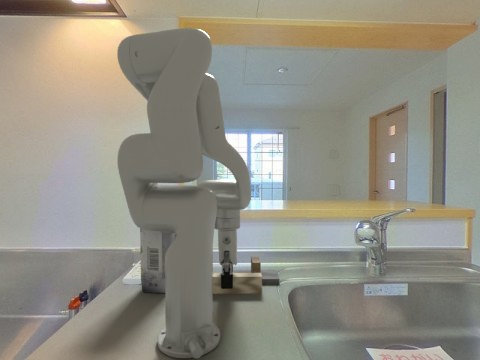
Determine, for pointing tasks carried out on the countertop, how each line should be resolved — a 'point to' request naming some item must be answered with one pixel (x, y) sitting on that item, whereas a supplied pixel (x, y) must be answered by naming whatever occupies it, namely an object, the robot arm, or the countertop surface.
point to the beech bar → (239, 283)
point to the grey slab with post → (261, 271)
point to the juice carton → (154, 259)
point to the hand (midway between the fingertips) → (227, 280)
